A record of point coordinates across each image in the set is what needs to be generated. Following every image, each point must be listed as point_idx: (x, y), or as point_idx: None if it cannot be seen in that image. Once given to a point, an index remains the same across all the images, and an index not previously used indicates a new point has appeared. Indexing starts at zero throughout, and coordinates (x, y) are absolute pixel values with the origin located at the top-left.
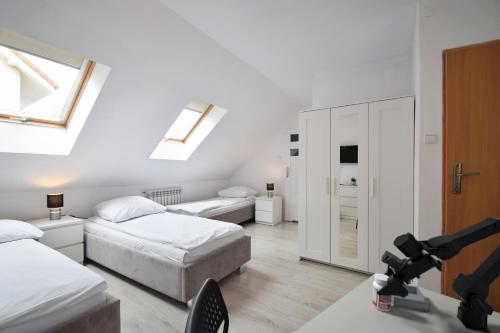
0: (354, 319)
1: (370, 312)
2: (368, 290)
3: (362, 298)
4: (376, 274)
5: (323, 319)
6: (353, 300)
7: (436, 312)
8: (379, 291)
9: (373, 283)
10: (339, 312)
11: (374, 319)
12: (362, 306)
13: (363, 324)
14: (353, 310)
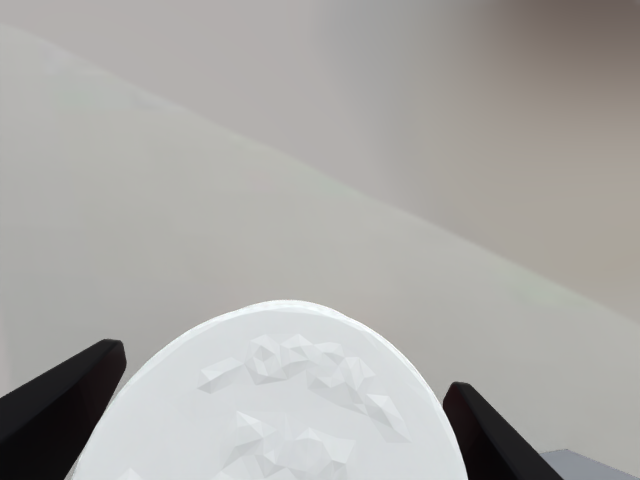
0: (77, 199)
1: (186, 299)
2: (478, 305)
3: (345, 258)
4: (367, 352)
5: (42, 57)
6: (294, 202)
7: None
8: (54, 374)
9: (277, 303)
10: (130, 126)
11: (106, 320)
12: (242, 253)
13: (33, 247)
14: (175, 198)
